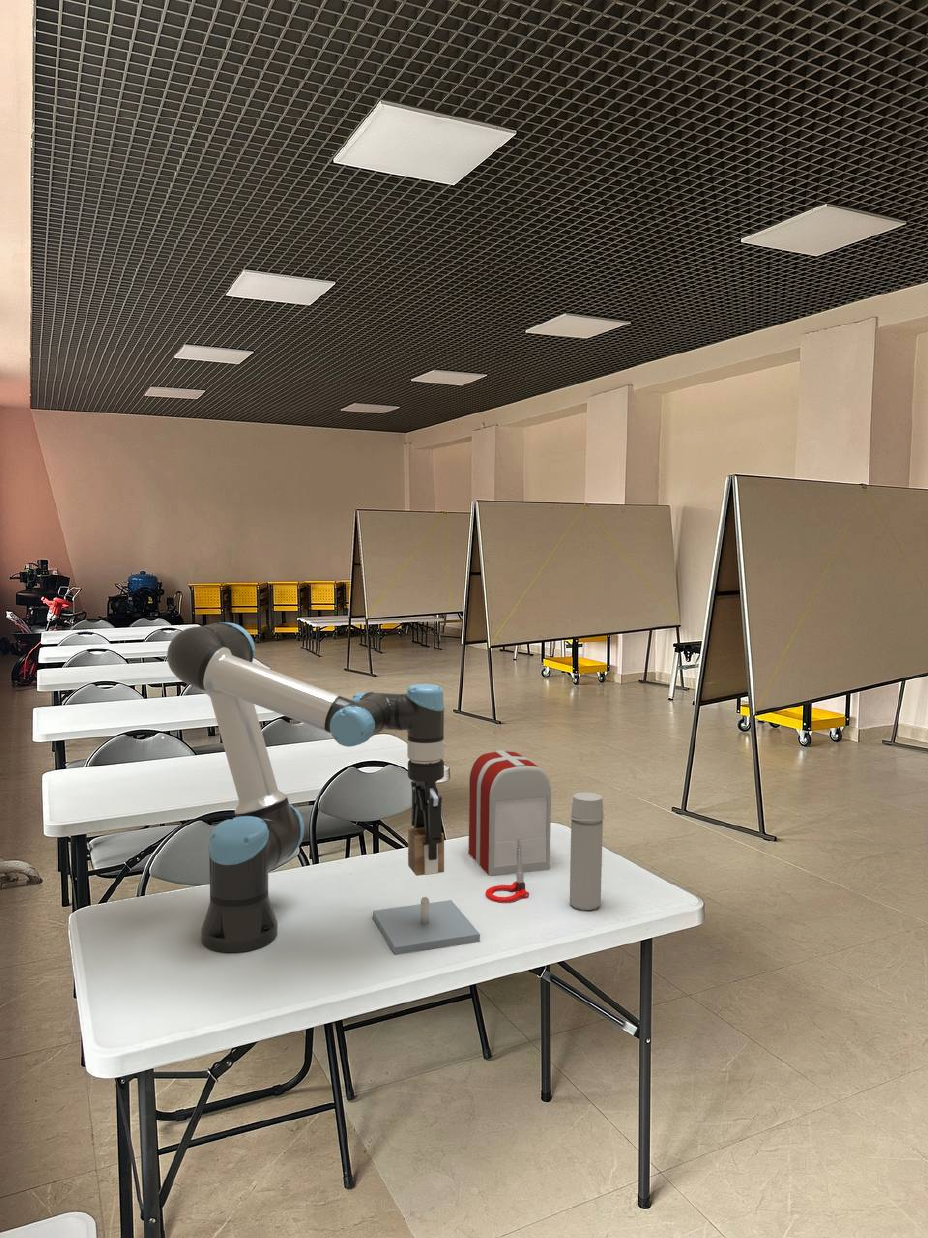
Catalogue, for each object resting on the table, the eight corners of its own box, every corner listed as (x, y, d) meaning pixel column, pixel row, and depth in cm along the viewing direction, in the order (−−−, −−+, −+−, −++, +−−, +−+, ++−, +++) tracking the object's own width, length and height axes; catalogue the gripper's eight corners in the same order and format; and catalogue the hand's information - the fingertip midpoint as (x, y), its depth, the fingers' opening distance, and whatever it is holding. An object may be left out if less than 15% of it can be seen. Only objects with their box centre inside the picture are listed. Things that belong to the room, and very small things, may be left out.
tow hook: (494, 907, 197) (531, 899, 200) (492, 851, 195) (529, 844, 199) (480, 893, 205) (516, 886, 208) (478, 839, 203) (514, 833, 207)
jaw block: (416, 876, 179) (416, 837, 178) (408, 865, 185) (407, 828, 184) (444, 872, 181) (444, 834, 180) (435, 862, 187) (435, 825, 186)
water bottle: (607, 911, 194) (609, 800, 192) (572, 913, 193) (575, 802, 191) (594, 894, 203) (596, 789, 201) (561, 896, 202) (563, 790, 200)
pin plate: (394, 954, 173) (394, 921, 172) (372, 917, 190) (372, 886, 189) (479, 941, 179) (480, 908, 178) (451, 906, 196) (451, 876, 195)
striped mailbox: (525, 846, 235) (527, 747, 233) (551, 869, 218) (553, 763, 216) (466, 852, 230) (467, 751, 228) (488, 877, 213) (490, 768, 211)
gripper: (458, 769, 173) (458, 882, 175) (429, 747, 191) (429, 851, 193) (422, 772, 171) (422, 887, 173) (396, 750, 189) (396, 855, 191)
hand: (426, 867), depth 183 cm, fingers closed on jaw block, 6 cm apart
